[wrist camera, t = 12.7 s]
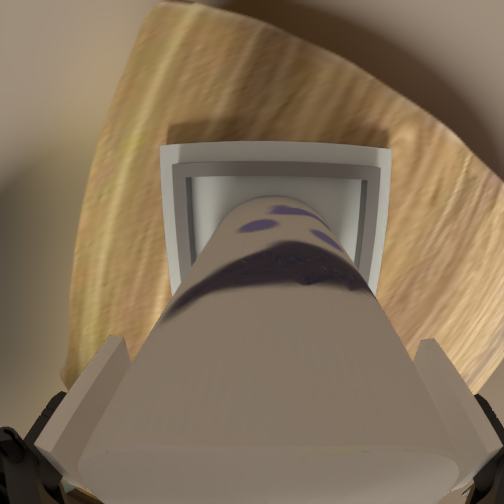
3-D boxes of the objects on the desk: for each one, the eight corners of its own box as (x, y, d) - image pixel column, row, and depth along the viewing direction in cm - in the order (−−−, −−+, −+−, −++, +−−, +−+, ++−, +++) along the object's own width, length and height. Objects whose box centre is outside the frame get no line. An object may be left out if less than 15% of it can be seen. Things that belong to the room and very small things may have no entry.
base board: (183, 332, 28) (175, 350, 26) (165, 145, 22) (152, 145, 19) (360, 335, 27) (368, 353, 25) (384, 148, 21) (399, 149, 18)
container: (333, 190, 21) (541, 384, 2) (334, 306, 25) (396, 538, 6) (203, 201, 22) (-3, 399, 3) (220, 313, 26) (156, 542, 7)
